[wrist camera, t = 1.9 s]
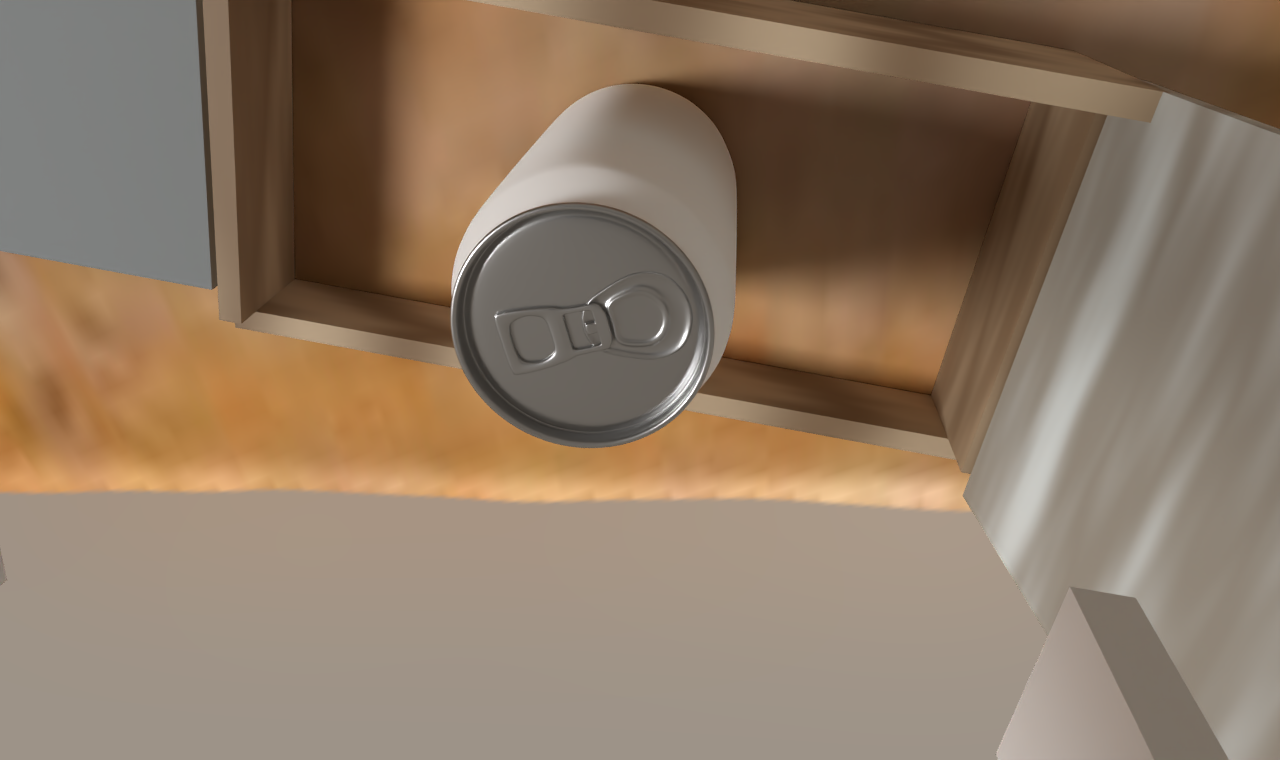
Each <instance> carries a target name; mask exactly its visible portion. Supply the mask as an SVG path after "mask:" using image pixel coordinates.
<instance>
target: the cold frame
mask: <svg viewBox="0 0 1280 760" xmlns="http://www.w3.org/2000/svg"><path fill="white" fill-rule="evenodd" d="M469 1H474V2H480V3H486V4H491V5H497V6H502V7H508V8H513V9H519V10H525V11H530V12H536V13H541V14H547V15H552V16H558V17H564V18H569V19H575V20H580V21H586V22H591V23H597V24H603V25H608V26H614V27H619V28H625V29H630V30H636V31H642V32H647V33H653V34H658V35H664V36H669V37H675V38H681V39H686V40H692V41H697V42H703V43H708V44H714V45H720V46H725V47H731V48H736V49H742V50H747V51H753V52H759V53H764V54H770V55H775V56H781V57H786V58H792V59H798V60H803V61H809V62H814V63H820V64H825V65H831V66H837V67H842V68H848V69H853V70H859V71H864V72H870V73H876V74H881V75H887V76H892V77H898V78H903V79H909V80H915V81H920V82H926V83H931V84H937V85H942V86H948V87H954V88H959V89H965V90H970V91H976V92H981V93H987V94H993V95H998V96H1004V97H1009V98H1015V99H1020V100H1026V101H1031V104H1030V107H1029V110H1028V112H1027V115H1026V118H1025V121H1024V124H1023V127H1022V130H1021V133H1020V136H1019V139H1018V142H1017V145H1016V148H1015V151H1014V153H1013V156H1012V159H1011V162H1010V165H1009V168H1008V171H1007V174H1006V177H1005V180H1004V183H1003V186H1002V189H1001V192H1000V194H999V197H998V200H997V203H996V206H995V209H994V212H993V215H992V218H991V221H990V224H989V227H988V230H987V233H986V236H985V238H984V241H983V244H982V247H981V250H980V253H979V256H978V259H977V262H976V265H975V268H974V271H973V274H972V277H971V279H970V282H969V285H968V288H967V291H966V294H965V297H964V300H963V303H962V306H961V309H960V312H959V315H958V318H957V320H956V323H955V326H954V329H953V332H952V335H951V338H950V341H949V344H948V347H947V350H946V353H945V356H944V359H943V361H942V364H941V367H940V370H939V373H938V376H937V379H936V382H935V385H934V388H933V391H932V394H931V395H926V394H920V393H915V392H909V391H904V390H898V389H893V388H887V387H882V386H876V385H871V384H866V383H860V382H855V381H849V380H844V379H838V378H833V377H827V376H822V375H816V374H811V373H805V372H800V371H795V370H789V369H784V368H778V367H773V366H767V365H762V364H756V363H751V362H745V361H740V360H735V359H729V358H724V357H721V359H720V361H719V363H718V365H717V367H716V368H715V370H714V372H713V373H712V374H711V376H710V377H709V379H708V380H707V381H706V382H705V383H704V385H703V386H702V387H701V388H700V389H699V391H698V392H697V394H696V396H695V397H694V398H693V400H692V401H691V402H690V404H689V405H688V406H687V407H686V408H685V409H684V410H688V411H693V412H698V413H704V414H709V415H715V416H720V417H726V418H731V419H737V420H742V421H747V422H753V423H758V424H764V425H769V426H775V427H780V428H785V429H791V430H796V431H802V432H807V433H813V434H818V435H824V436H829V437H834V438H840V439H845V440H851V441H856V442H862V443H867V444H872V445H878V446H883V447H889V448H894V449H900V450H905V451H911V452H916V453H921V454H927V455H932V456H938V457H943V458H949V459H954V460H957V463H958V465H959V468H960V470H961V472H963V473H968V474H971V475H970V478H969V480H968V483H967V486H966V488H965V491H964V494H963V497H964V499H965V500H966V502H967V504H968V505H969V507H970V509H971V510H972V512H973V514H974V515H975V517H976V519H977V520H978V522H979V524H980V525H981V527H982V528H983V530H984V532H985V533H986V535H987V537H988V538H989V540H990V542H991V543H992V545H993V547H994V548H995V550H996V552H997V553H998V555H999V557H1000V558H1001V560H1002V562H1003V563H1004V565H1005V567H1006V568H1007V570H1008V572H1009V573H1010V575H1011V577H1012V578H1013V580H1014V581H1015V583H1016V585H1017V587H1018V588H1019V590H1020V591H1021V593H1022V595H1023V596H1024V598H1025V600H1026V601H1027V603H1028V605H1029V606H1030V608H1031V610H1032V611H1033V613H1034V615H1035V616H1036V618H1037V620H1038V621H1039V623H1040V625H1041V626H1042V628H1043V630H1044V631H1045V633H1046V634H1047V636H1048V635H1049V632H1050V630H1051V628H1052V626H1053V623H1054V621H1055V619H1056V617H1057V614H1058V612H1059V610H1060V608H1061V605H1062V603H1063V601H1064V598H1065V596H1066V594H1067V592H1068V589H1069V587H1076V588H1081V589H1087V590H1093V591H1099V592H1105V593H1111V594H1116V595H1122V596H1128V597H1134V598H1136V599H1137V601H1138V602H1139V604H1140V606H1141V608H1142V609H1143V611H1144V613H1145V615H1146V616H1147V618H1148V620H1149V622H1150V623H1151V625H1152V627H1153V629H1154V630H1155V632H1156V634H1157V635H1158V637H1159V639H1160V641H1161V642H1162V644H1163V646H1164V648H1165V649H1166V651H1167V653H1168V655H1169V656H1170V658H1171V660H1172V662H1173V663H1174V665H1175V667H1176V668H1177V670H1178V672H1179V674H1180V675H1181V677H1182V679H1183V681H1184V682H1185V684H1186V686H1187V688H1188V689H1189V691H1190V693H1191V695H1192V696H1193V698H1194V700H1195V701H1196V703H1197V705H1198V707H1199V708H1200V710H1201V712H1202V714H1203V715H1204V717H1205V719H1206V721H1207V722H1208V724H1209V726H1210V728H1211V729H1212V731H1213V733H1214V735H1215V736H1216V738H1217V740H1218V741H1219V743H1220V745H1221V747H1222V748H1223V750H1224V752H1225V754H1226V755H1227V757H1228V759H1229V760H1280V129H1278V128H1275V127H1273V126H1270V125H1267V124H1264V123H1261V122H1259V121H1256V120H1253V119H1250V118H1248V117H1245V116H1242V115H1239V114H1237V113H1234V112H1231V111H1228V110H1226V109H1223V108H1220V107H1217V106H1214V105H1212V104H1209V103H1206V102H1203V101H1201V100H1198V99H1195V98H1192V97H1190V96H1187V95H1184V94H1181V93H1179V92H1176V91H1173V90H1170V89H1167V88H1165V87H1162V86H1159V85H1156V84H1154V83H1151V82H1148V81H1145V80H1140V79H1138V78H1135V77H1133V76H1131V75H1128V74H1126V73H1124V72H1121V71H1119V70H1117V69H1114V68H1112V67H1110V66H1108V65H1105V64H1103V63H1101V62H1098V61H1096V60H1094V59H1091V58H1089V57H1087V56H1084V55H1082V54H1080V53H1077V52H1075V51H1071V50H1066V49H1060V48H1055V47H1049V46H1043V45H1038V44H1032V43H1027V42H1021V41H1015V40H1010V39H1004V38H999V37H993V36H987V35H982V34H976V33H971V32H965V31H960V30H954V29H948V28H943V27H937V26H932V25H926V24H920V23H915V22H909V21H904V20H898V19H892V18H887V17H881V16H876V15H870V14H864V13H859V12H853V11H848V10H842V9H836V8H831V7H825V6H820V5H814V4H808V3H803V2H797V1H792V0H469ZM203 18H204V37H205V56H206V75H207V94H208V113H209V132H210V151H211V170H212V189H213V207H214V226H215V245H216V264H217V283H218V302H219V320H223V321H228V322H234V323H235V327H236V328H242V329H247V330H253V331H258V332H263V333H269V334H274V335H280V336H285V337H291V338H296V339H302V340H307V341H312V342H318V343H323V344H329V345H334V346H340V347H345V348H350V349H356V350H361V351H367V352H372V353H378V354H383V355H389V356H394V357H399V358H405V359H410V360H416V361H421V362H427V363H432V364H437V365H443V366H448V367H454V368H459V369H462V368H461V365H460V363H459V361H458V358H457V355H456V352H455V349H454V345H453V341H452V335H451V327H450V307H445V306H440V305H434V304H429V303H423V302H418V301H412V300H407V299H402V298H396V297H391V296H385V295H380V294H374V293H369V292H363V291H358V290H352V289H347V288H341V287H336V286H331V285H325V284H320V283H314V282H309V281H303V280H298V279H295V259H294V177H293V96H292V14H291V0H203Z"/></svg>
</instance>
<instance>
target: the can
mask: <svg viewBox="0 0 1280 760" xmlns="http://www.w3.org/2000/svg"><path fill="white" fill-rule="evenodd" d="M736 248H737V187H736V177H735V171H734V167H733V163H732V160H731V157H730V154H729V151H728V149H727V146H726V144H725V142H724V140H723V138H722V136H721V134H720V132H719V131H718V129H717V128H716V126H715V125H714V123H713V122H712V121H711V120H710V118H709V117H708V116H707V115H706V114H705V113H704V112H703V111H702V110H701V109H699V108H698V107H697V106H696V105H694V104H693V103H692V102H690V101H689V100H687V99H686V98H684V97H682V96H680V95H678V94H676V93H674V92H672V91H669V90H666V89H663V88H660V87H656V86H651V85H645V84H621V85H614V86H609V87H606V88H602V89H599V90H597V91H594V92H592V93H590V94H588V95H586V96H584V97H582V98H581V99H579V100H578V101H576V102H575V103H573V104H572V105H571V106H569V107H568V108H567V109H566V110H565V111H564V112H563V113H562V114H561V115H560V116H559V117H558V118H557V119H556V120H555V121H554V122H553V123H552V124H551V125H550V126H549V128H548V129H547V130H546V131H545V132H544V133H543V134H542V136H541V137H540V138H539V139H538V140H537V141H536V142H535V144H534V145H533V146H532V147H531V148H530V149H529V151H528V152H527V153H526V154H525V155H524V156H523V158H522V159H521V160H520V161H519V162H518V163H517V165H516V166H515V167H514V168H513V169H512V170H511V172H510V173H509V174H508V175H507V176H506V178H505V179H504V180H503V181H502V182H501V184H500V185H499V186H498V187H497V188H496V190H495V191H494V192H493V193H492V194H491V196H490V197H489V198H488V199H487V201H486V202H485V203H484V204H483V206H482V207H481V209H480V210H479V211H478V213H477V214H476V215H475V217H474V218H473V220H472V222H471V223H470V225H469V227H468V228H467V230H466V232H465V235H464V237H463V239H462V241H461V244H460V246H459V249H458V252H457V255H456V259H455V263H454V268H453V274H452V299H451V307H450V327H451V335H452V341H453V345H454V349H455V352H456V355H457V358H458V361H459V363H460V365H461V368H462V370H463V372H464V374H465V375H466V377H467V379H468V380H469V382H470V384H471V385H472V387H473V388H474V389H475V391H476V392H477V393H478V395H479V396H480V397H481V398H482V399H483V400H484V402H485V403H486V404H487V405H488V406H489V407H490V408H491V409H492V410H494V411H495V412H496V413H497V414H498V415H499V416H501V417H502V418H503V419H505V420H506V421H507V422H509V423H510V424H512V425H513V426H515V427H517V428H518V429H520V430H522V431H524V432H526V433H528V434H530V435H532V436H535V437H537V438H540V439H542V440H545V441H548V442H552V443H555V444H560V445H565V446H571V447H579V448H603V447H611V446H617V445H622V444H626V443H630V442H633V441H636V440H639V439H641V438H644V437H646V436H648V435H650V434H652V433H654V432H656V431H658V430H659V429H661V428H663V427H664V426H666V425H667V424H668V423H670V422H671V421H672V420H674V419H675V418H676V417H677V416H678V415H679V414H680V413H681V412H682V411H683V410H684V409H685V408H686V407H687V406H688V405H689V404H690V402H691V401H692V400H693V398H694V397H695V396H696V394H697V392H698V391H699V389H700V388H701V387H702V386H703V385H704V383H705V382H706V381H707V380H708V379H709V377H710V376H711V374H712V373H713V372H714V370H715V368H716V367H717V365H718V363H719V361H720V359H721V357H722V355H723V353H724V350H725V348H726V345H727V342H728V339H729V335H730V332H731V328H732V323H733V316H734V306H735V290H736Z"/></svg>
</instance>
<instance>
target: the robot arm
mask: <svg viewBox="0 0 1280 760" xmlns="http://www.w3.org/2000/svg"><path fill="white" fill-rule="evenodd" d="M6 580H7V578H6V574H5V569H4V564H3V559H2V555H1V550H0V585H2V584H3V583H4V582H5V581H6ZM996 755H997V759H998V760H1229V759H1228V757H1227V755H1226V754H1225V752H1224V750H1223V748H1222V747H1221V745H1220V743H1219V741H1218V740H1217V738H1216V736H1215V735H1214V733H1213V731H1212V729H1211V728H1210V726H1209V724H1208V722H1207V721H1206V719H1205V717H1204V715H1203V714H1202V712H1201V710H1200V708H1199V707H1198V705H1197V703H1196V701H1195V700H1194V698H1193V696H1192V695H1191V693H1190V691H1189V689H1188V688H1187V686H1186V684H1185V682H1184V681H1183V679H1182V677H1181V675H1180V674H1179V672H1178V670H1177V668H1176V667H1175V665H1174V663H1173V662H1172V660H1171V658H1170V656H1169V655H1168V653H1167V651H1166V649H1165V648H1164V646H1163V644H1162V642H1161V641H1160V639H1159V637H1158V635H1157V634H1156V632H1155V630H1154V629H1153V627H1152V625H1151V623H1150V622H1149V620H1148V618H1147V616H1146V615H1145V613H1144V611H1143V609H1142V608H1141V606H1140V604H1139V602H1138V601H1137V599H1136V598H1134V597H1128V596H1122V595H1116V594H1111V593H1105V592H1099V591H1093V590H1087V589H1081V588H1076V587H1069V589H1068V592H1067V594H1066V596H1065V598H1064V601H1063V603H1062V605H1061V608H1060V610H1059V612H1058V614H1057V617H1056V619H1055V621H1054V623H1053V626H1052V628H1051V630H1050V632H1049V635H1048V637H1047V639H1046V642H1045V644H1044V646H1043V648H1042V651H1041V653H1040V655H1039V658H1038V660H1037V662H1036V664H1035V667H1034V669H1033V671H1032V673H1031V676H1030V678H1029V680H1028V682H1027V685H1026V687H1025V689H1024V691H1023V694H1022V696H1021V698H1020V701H1019V703H1018V705H1017V707H1016V710H1015V712H1014V714H1013V716H1012V719H1011V721H1010V723H1009V726H1008V727H1007V730H1006V732H1005V734H1004V737H1003V739H1002V741H1001V743H1000V746H999V748H998V750H997V752H996Z"/></svg>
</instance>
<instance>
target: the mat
mask: <svg viewBox="0 0 1280 760" xmlns="http://www.w3.org/2000/svg"><path fill="white" fill-rule="evenodd" d="M0 251H4V252H9V253H15V254H20V255H26V256H31V257H37V258H42V259H48V260H53V261H58V262H64V263H69V264H75V265H80V266H86V267H91V268H97V269H102V270H107V271H113V272H118V273H124V274H129V275H135V276H140V277H146V278H151V279H157V280H162V281H167V282H173V283H178V284H184V285H189V286H195V287H200V288H206V289H211V290H212V289H214V288H215V287H216V286H218V283H217V264H216V245H215V226H214V207H213V189H212V170H211V151H210V132H209V113H208V94H207V75H206V56H205V37H204V18H203V0H0Z"/></svg>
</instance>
